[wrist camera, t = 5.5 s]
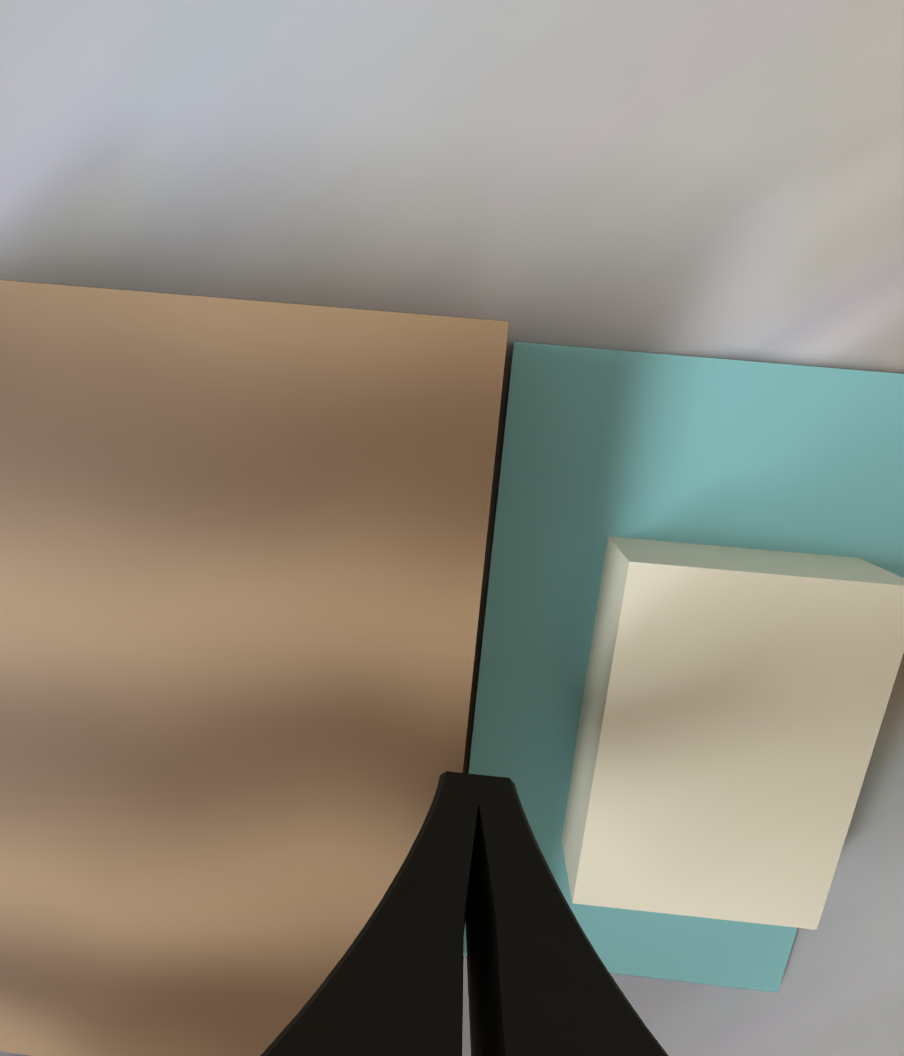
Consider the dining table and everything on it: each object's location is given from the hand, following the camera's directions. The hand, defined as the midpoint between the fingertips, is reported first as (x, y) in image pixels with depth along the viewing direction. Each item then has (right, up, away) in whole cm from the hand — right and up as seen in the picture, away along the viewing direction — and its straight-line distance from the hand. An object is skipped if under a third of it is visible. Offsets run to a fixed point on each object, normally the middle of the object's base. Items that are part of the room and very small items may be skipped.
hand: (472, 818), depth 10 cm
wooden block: (-7, +2, +5) cm, 9 cm away
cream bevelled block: (+6, 0, +2) cm, 6 cm away
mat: (+5, +1, +4) cm, 7 cm away
